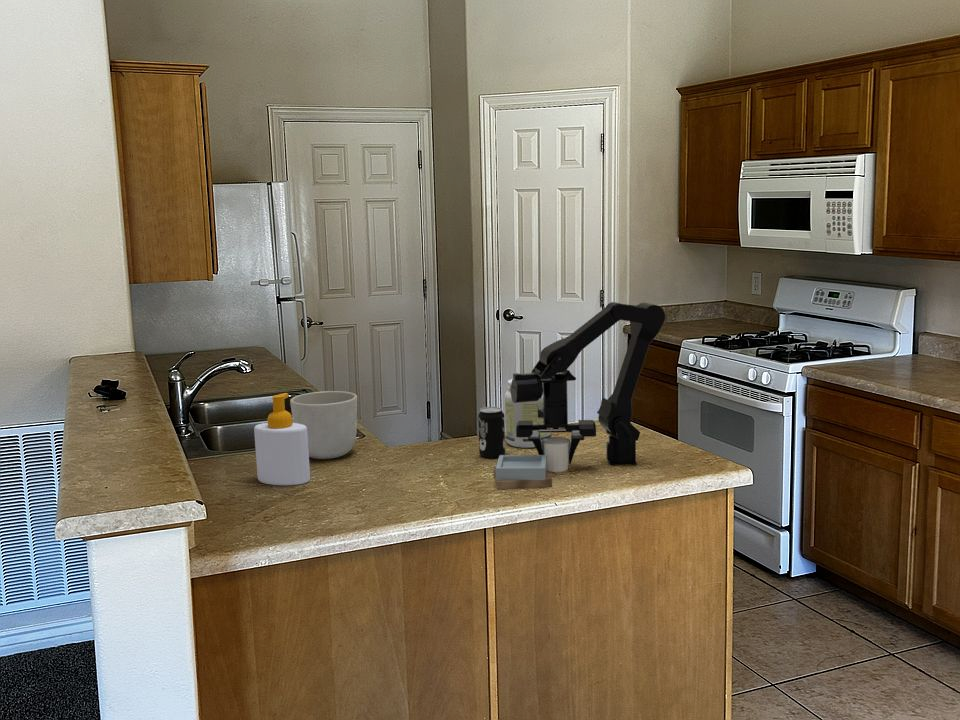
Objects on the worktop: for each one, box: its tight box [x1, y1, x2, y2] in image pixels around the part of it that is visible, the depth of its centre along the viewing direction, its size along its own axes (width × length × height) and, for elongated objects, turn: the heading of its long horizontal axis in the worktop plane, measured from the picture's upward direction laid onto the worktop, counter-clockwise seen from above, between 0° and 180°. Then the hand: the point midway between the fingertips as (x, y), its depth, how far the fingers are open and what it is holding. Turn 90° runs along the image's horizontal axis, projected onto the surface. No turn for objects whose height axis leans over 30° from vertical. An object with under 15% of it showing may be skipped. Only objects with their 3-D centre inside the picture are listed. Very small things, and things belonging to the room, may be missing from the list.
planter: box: [289, 390, 358, 460], centre depth 229 cm, size 17×17×15 cm
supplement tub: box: [504, 378, 553, 449], centre depth 235 cm, size 12×12×17 cm
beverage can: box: [477, 406, 506, 459], centre depth 225 cm, size 7×7×12 cm
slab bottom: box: [493, 466, 553, 490], centre depth 204 cm, size 12×12×2 cm
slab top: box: [495, 454, 547, 481], centre depth 204 cm, size 11×11×3 cm
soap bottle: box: [253, 392, 311, 486], centre depth 208 cm, size 13×8×20 cm, turn 71°
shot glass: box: [542, 436, 571, 473], centre depth 212 cm, size 7×7×7 cm
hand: (556, 463), depth 212 cm, fingers closed on shot glass, 6 cm apart
